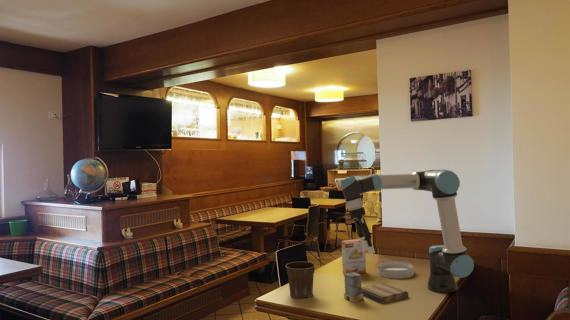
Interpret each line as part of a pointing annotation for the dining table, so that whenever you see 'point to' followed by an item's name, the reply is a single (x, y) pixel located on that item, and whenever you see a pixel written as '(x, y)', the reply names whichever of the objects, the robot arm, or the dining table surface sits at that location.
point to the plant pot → (300, 278)
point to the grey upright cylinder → (353, 287)
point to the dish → (395, 269)
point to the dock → (383, 292)
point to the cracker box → (353, 257)
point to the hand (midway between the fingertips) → (368, 251)
